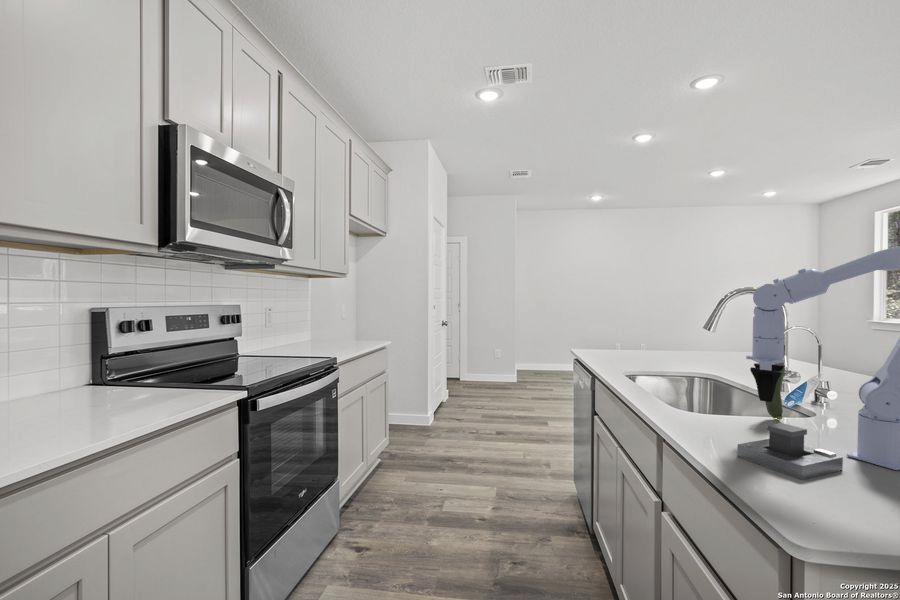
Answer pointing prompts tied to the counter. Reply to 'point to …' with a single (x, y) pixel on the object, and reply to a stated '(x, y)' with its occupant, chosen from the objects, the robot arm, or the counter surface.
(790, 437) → the plug
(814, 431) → the counter surface
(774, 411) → the vegetable
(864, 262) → the robot arm
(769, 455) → the socket plate
